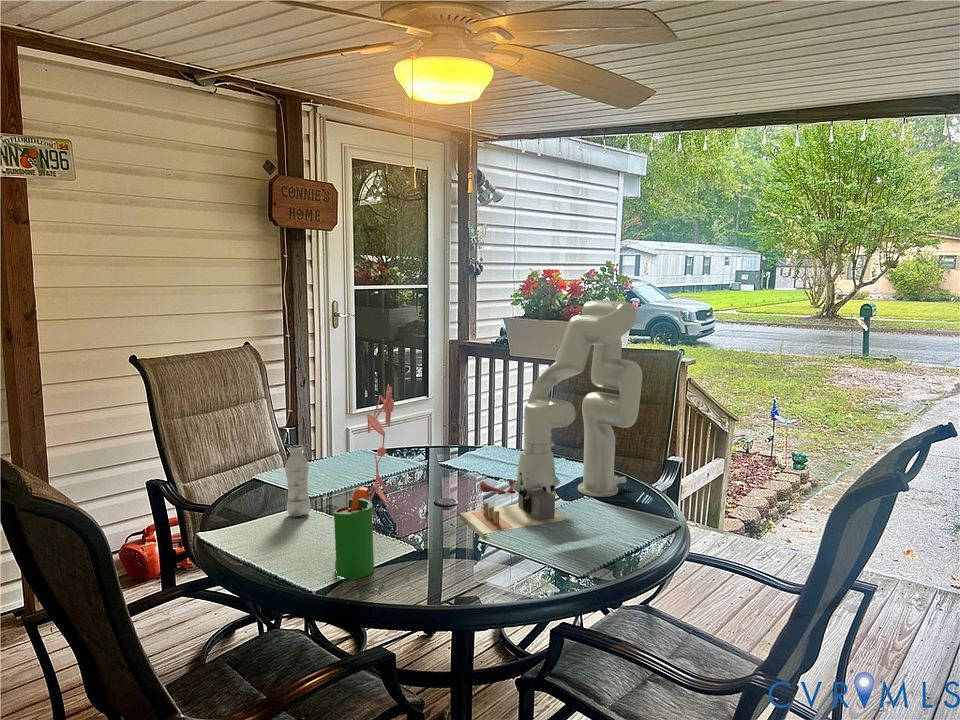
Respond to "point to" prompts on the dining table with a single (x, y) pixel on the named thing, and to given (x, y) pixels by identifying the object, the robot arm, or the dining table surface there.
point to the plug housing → (540, 504)
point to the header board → (502, 519)
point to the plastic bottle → (297, 482)
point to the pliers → (488, 489)
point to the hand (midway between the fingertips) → (536, 509)
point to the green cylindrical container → (354, 537)
